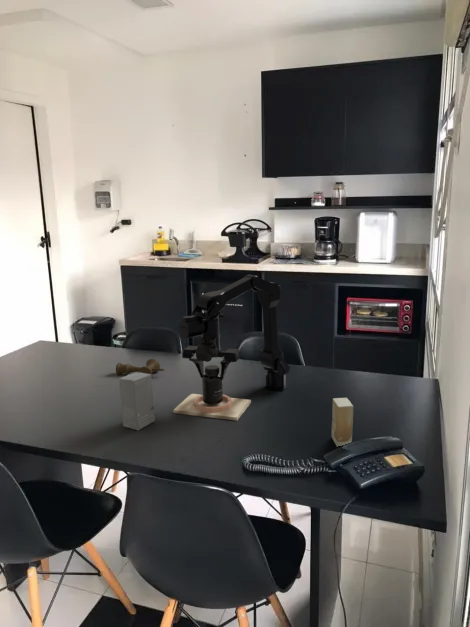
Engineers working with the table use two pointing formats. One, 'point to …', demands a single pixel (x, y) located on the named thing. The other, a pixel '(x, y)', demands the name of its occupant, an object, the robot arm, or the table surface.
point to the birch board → (230, 414)
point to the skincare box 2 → (342, 421)
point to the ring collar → (212, 409)
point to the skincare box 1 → (137, 400)
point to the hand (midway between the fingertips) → (212, 378)
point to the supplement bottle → (212, 385)
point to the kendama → (139, 368)
